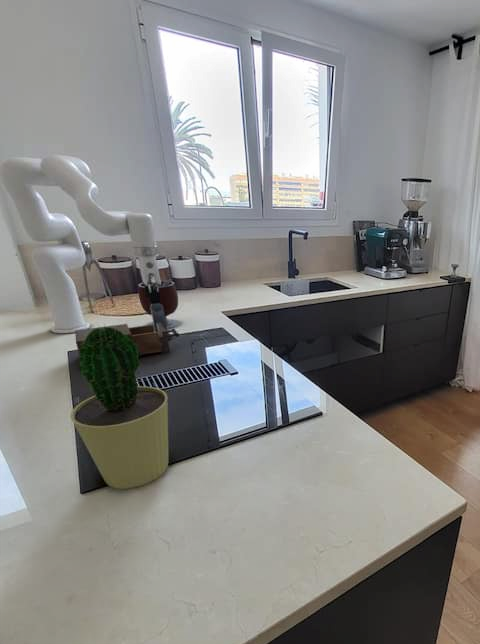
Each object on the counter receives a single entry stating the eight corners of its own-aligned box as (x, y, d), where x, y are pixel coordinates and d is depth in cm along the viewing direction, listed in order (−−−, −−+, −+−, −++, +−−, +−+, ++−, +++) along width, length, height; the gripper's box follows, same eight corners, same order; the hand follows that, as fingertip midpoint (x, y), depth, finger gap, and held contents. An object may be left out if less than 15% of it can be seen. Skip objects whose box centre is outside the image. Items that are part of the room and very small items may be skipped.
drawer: (176, 339, 144) (172, 320, 141) (183, 349, 136) (179, 329, 133) (121, 348, 135) (116, 328, 132) (124, 359, 126) (119, 337, 123)
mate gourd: (137, 327, 159) (126, 277, 151) (164, 318, 171) (156, 272, 163) (166, 332, 154) (157, 281, 146) (192, 323, 165) (185, 275, 157)
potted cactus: (120, 509, 68) (73, 347, 56) (75, 476, 75) (26, 327, 63) (195, 463, 80) (171, 322, 68) (151, 439, 87) (122, 308, 75)
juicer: (115, 306, 186) (100, 240, 174) (91, 312, 176) (74, 243, 164) (101, 304, 189) (85, 239, 177) (78, 309, 180) (59, 241, 168)
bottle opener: (153, 337, 148) (145, 301, 143) (169, 335, 151) (162, 299, 146) (155, 341, 145) (148, 304, 139) (171, 338, 148) (165, 302, 142)
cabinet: (132, 348, 137) (126, 323, 134) (137, 360, 128) (131, 333, 124) (82, 356, 130) (75, 330, 126) (83, 369, 120) (75, 341, 117)
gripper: (162, 254, 131) (169, 304, 138) (153, 247, 144) (160, 294, 151) (136, 255, 127) (145, 307, 134) (130, 248, 140) (138, 295, 147)
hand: (153, 300), depth 142 cm, fingers open, 9 cm apart
